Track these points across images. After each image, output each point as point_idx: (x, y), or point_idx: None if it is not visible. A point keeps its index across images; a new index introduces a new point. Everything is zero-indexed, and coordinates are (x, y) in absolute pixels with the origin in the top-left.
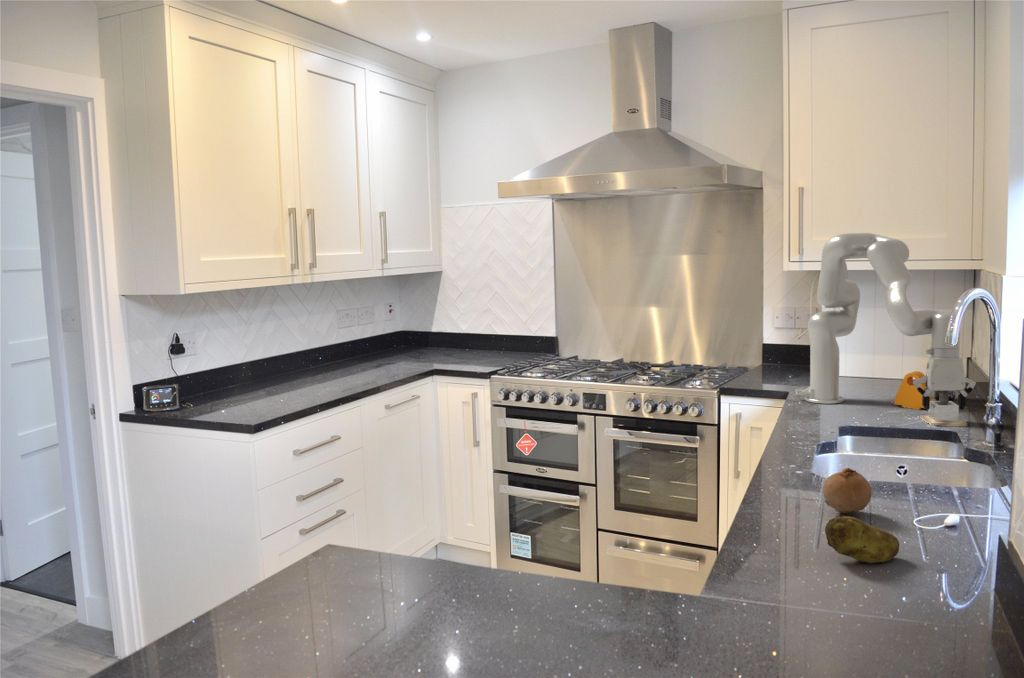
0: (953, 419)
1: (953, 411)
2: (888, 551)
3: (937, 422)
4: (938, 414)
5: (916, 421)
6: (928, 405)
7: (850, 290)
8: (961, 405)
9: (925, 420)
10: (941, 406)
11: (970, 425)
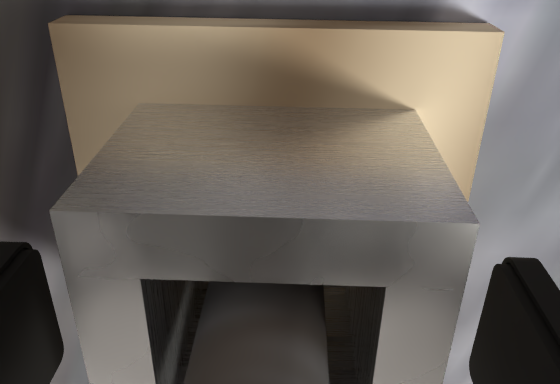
0: (191, 112)
1: (170, 158)
2: None
3: (411, 52)
4: (390, 145)
5: (520, 247)
6: (540, 293)
7: None
8: (2, 283)
9: None
10: (363, 209)
11: (20, 69)
